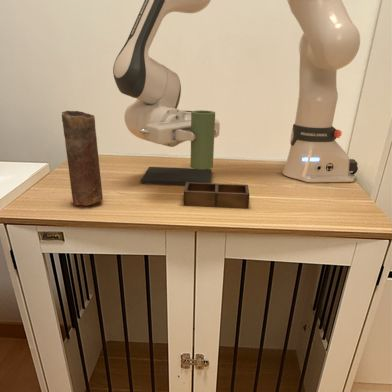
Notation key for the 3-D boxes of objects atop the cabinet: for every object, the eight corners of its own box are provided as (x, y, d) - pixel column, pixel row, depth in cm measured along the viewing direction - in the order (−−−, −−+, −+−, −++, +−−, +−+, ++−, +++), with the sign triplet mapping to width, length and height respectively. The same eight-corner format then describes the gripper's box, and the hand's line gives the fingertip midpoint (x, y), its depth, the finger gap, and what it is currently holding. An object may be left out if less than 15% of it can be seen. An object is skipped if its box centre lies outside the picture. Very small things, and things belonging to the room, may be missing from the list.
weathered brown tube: (91, 197, 107) (80, 109, 95) (110, 203, 103) (101, 112, 91) (67, 203, 102) (52, 111, 90) (85, 210, 99) (73, 115, 87)
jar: (213, 164, 105) (215, 110, 97) (212, 170, 100) (215, 114, 93) (191, 163, 105) (192, 110, 98) (189, 169, 100) (190, 113, 93)
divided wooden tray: (246, 198, 110) (248, 184, 108) (248, 208, 103) (249, 194, 101) (186, 195, 110) (186, 182, 108) (183, 205, 103) (183, 191, 101)
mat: (211, 172, 131) (211, 169, 130) (209, 186, 118) (210, 182, 117) (149, 169, 131) (149, 166, 131) (141, 183, 118) (140, 179, 118)
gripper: (135, 116, 98) (171, 124, 90) (198, 110, 109) (235, 117, 101) (136, 145, 102) (171, 155, 94) (197, 136, 113) (233, 144, 105)
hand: (205, 135), depth 98 cm, fingers closed on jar, 5 cm apart
